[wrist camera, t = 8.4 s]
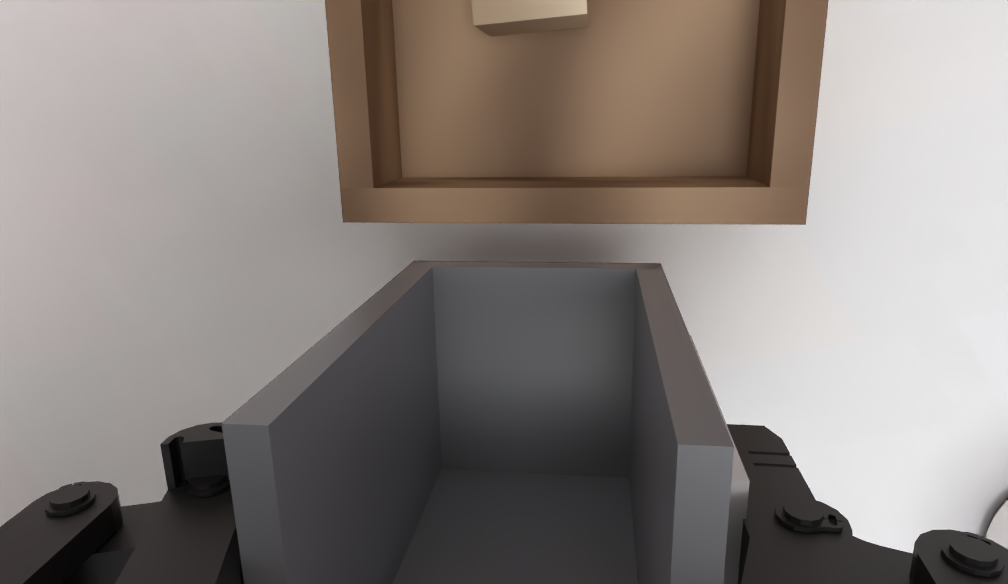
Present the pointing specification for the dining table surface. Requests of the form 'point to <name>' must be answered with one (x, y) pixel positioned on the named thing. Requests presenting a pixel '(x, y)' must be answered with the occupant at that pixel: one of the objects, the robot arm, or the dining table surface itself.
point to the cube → (528, 15)
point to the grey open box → (489, 437)
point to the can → (999, 526)
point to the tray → (577, 113)
